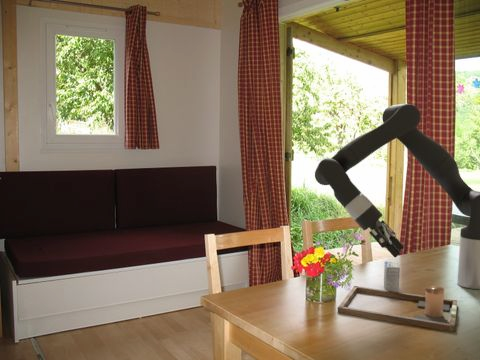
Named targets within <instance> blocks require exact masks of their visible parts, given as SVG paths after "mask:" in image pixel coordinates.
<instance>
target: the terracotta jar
mask: <svg viewBox="0 0 480 360" xmlns="http://www.w3.org/2000/svg"><path fill="white" fill-rule="evenodd" d="M424 296H425V308H424V316H427V317H433V318H439V319H440V318H442V317H443V313H444V311H443V299H445V298H444V297H445V288H444V287H442V286H438V285H427V286H425V295H424Z"/></svg>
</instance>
